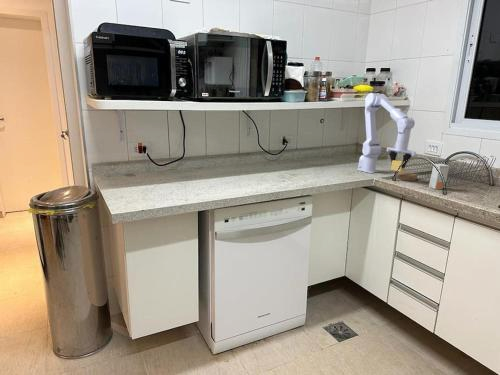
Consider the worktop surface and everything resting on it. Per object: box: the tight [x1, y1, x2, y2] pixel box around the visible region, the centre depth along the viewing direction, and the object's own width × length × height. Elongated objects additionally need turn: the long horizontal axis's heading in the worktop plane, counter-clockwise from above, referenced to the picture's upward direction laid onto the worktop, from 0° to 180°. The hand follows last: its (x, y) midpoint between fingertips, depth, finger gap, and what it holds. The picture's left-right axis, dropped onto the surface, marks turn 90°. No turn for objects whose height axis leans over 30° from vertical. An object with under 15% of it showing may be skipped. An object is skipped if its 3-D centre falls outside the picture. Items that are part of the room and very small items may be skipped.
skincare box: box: [428, 163, 450, 190], centre depth 172 cm, size 6×4×12 cm
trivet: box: [393, 171, 419, 182], centre depth 190 cm, size 9×9×2 cm
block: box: [390, 159, 405, 172], centre depth 184 cm, size 5×5×5 cm
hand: (398, 166), depth 184 cm, fingers closed on block, 5 cm apart
